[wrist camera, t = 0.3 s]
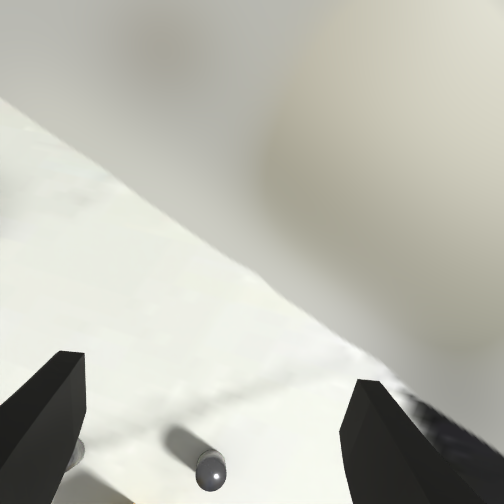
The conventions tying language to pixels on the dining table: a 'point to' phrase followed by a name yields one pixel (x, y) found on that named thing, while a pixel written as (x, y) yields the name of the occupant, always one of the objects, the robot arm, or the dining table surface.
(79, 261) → the dining table surface
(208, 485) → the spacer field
